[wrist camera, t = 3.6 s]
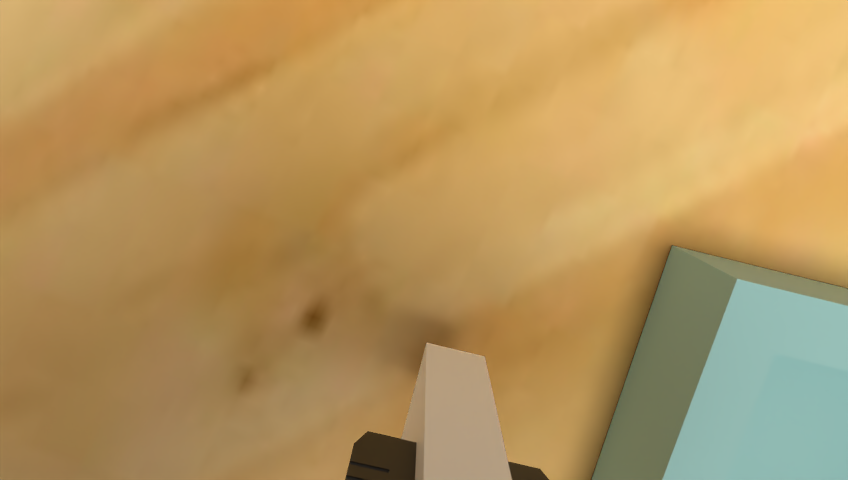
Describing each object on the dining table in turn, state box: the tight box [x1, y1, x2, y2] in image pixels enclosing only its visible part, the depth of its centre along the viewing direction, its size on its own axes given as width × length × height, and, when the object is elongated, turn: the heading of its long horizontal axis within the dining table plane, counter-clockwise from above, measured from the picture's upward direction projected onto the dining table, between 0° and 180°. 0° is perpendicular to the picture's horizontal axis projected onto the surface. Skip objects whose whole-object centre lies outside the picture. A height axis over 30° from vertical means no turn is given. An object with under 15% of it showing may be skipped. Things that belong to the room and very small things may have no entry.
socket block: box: [591, 245, 848, 480], centre depth 16 cm, size 10×10×4 cm
